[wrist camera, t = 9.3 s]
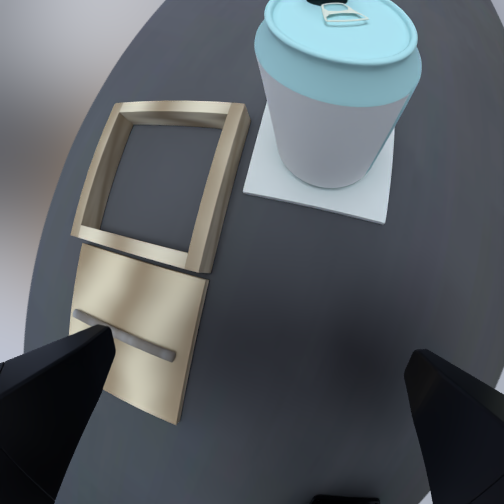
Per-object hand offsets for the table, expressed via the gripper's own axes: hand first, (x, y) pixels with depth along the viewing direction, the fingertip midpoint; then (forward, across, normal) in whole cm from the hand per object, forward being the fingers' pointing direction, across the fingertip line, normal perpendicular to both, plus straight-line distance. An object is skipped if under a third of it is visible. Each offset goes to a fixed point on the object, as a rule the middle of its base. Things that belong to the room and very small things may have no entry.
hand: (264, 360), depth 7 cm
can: (+15, -4, -7) cm, 16 cm away
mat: (+15, -4, -7) cm, 17 cm away
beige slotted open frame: (+13, +10, +3) cm, 17 cm away
